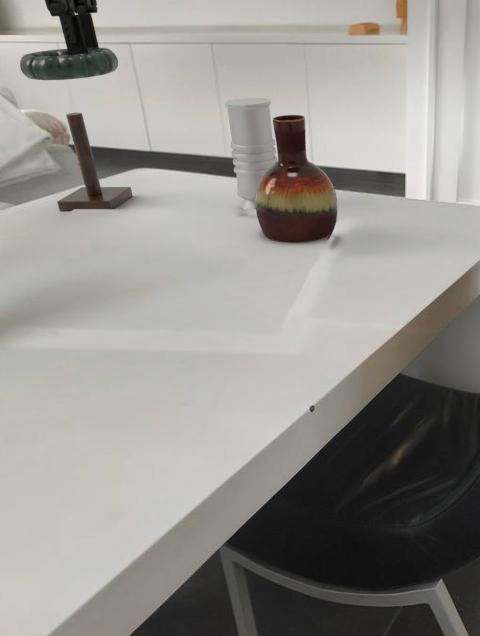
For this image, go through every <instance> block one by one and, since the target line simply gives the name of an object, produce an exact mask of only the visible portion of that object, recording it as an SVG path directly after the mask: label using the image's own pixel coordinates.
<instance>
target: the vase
mask: <svg viewBox="0 0 480 636" xmlns="http://www.w3.org/2000/svg"><path fill="white" fill-rule="evenodd" d="M272 127H273V131H274V137H275V145H276V153H277V162H275V163H276V164H275V165H274V166H272V167H271V168H270V169H269V170H268V171H267V172H266V173H265V175H264V176H263V177H262V179H261V181H260V183H259V186H258V189H257V192H256V201H255V204H256V209H255V212H256V217H257V221H258V224H259V227H260V229H261V231H262V233H263V235H264V236H265V237H266V238H267V239H269V240H271V241H275V242H280V243H306V242H311V241H316V240H320V239H323V238H326V237H327V240H326V241H328V240H329V239H330V237H331V236H332V235H333V232H334V231H335V227H336V224H337V218H338V197H337V193H336V190H335V187H334V185H333V183H332V181H331V179H330V178H329V176H328V175H327V174H326V173H325V172H324V170H322V169H321V168H320V167H319V166H317V165H316V164H315V163H313V162H310V161H309V159H308V155H307V142H306V117H305V116H304V115H301V114H284V115H278V116H275V117H273V118H272Z"/></svg>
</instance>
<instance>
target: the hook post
mask: <svg viewBox="0 0 480 636" xmlns="http://www.w3.org/2000/svg"><path fill="white" fill-rule="evenodd" d="M66 121H67V124H68V127H69V131H70V135H71V138H72V139H71V140H72V143H73V146H74V150H75V153H76V158H77V161H78V164H79V169H80V172H81V177H82V180H83V184H84V186H82V187H80V188H78V189H76V190H74V191H73V192H71V193H69V194H68V195H66V196H64V197H63V198H61V199H59V200H57V202H56V203H57V206H58V210H59V211H60V212H71V211H72V212H73V211H74V210H115V209H116V208H117V207H119V206H120V205H122V204H123V203H125V202H126V201H127V200H129V199H130V198H132V197H133V191H132V187H131V186H101V183H100V179H99V175H98V171H97V167H96V163H95V159H94V156H93V152H92V147H91V144H90V139H89V135H88V132H87V128H86V127H87V126H86V124H85V120H84V115H83V113H82V112H69V113H67V114H66Z"/></svg>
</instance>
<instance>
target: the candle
mask: <svg viewBox="0 0 480 636" xmlns="http://www.w3.org/2000/svg"><path fill="white" fill-rule="evenodd" d="M271 104H272V100H271V99H270V98H266V97H244V98H243V97H241V98H235V99H230V100H227V101H225V102H224V105H225V107H226V108H227V114H228V115H227V116H228V121H229V128H230V135H231V136H230V137H231V142H230V148H231V150H232V151H231V157H233V159H232V165H233V166H234V167H233V172H234V173H235V174H236V184H237V185H236V189H237V196H238V197H239V198H241V199H244V200H243V203H242V207H241V208H242V210H256V204H255V201H256V192H257V189H258V186H259V183H260V181H261V179H262V177H263V176H264V175H265V173H266V172H267V171H268V170H269V169H270V168H271V167H272V166H274V165H275V164H276V163H277V162H278V156H277V155H276V154H277V148H276V139H274V138H273V126H272V119H271V110H270V105H271Z"/></svg>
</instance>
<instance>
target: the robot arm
mask: <svg viewBox="0 0 480 636" xmlns="http://www.w3.org/2000/svg"><path fill="white" fill-rule="evenodd" d="M44 3H45V6H46V9H47V11H48V12H49V14H50V16H51V17H58V18H59V23H60V26H61V31H62V34H63V38H64V42H65V46H66V49H67V50H68V54H69V55H75V54H84V53H88V50H87V48H90V47H96V48H100V46H99V41H98V37H97V34H96V30H95V29H96V28H95V25H94V20H93V16H92V14H97V13H98V7H97V6H98V2H97V0H44Z"/></svg>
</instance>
